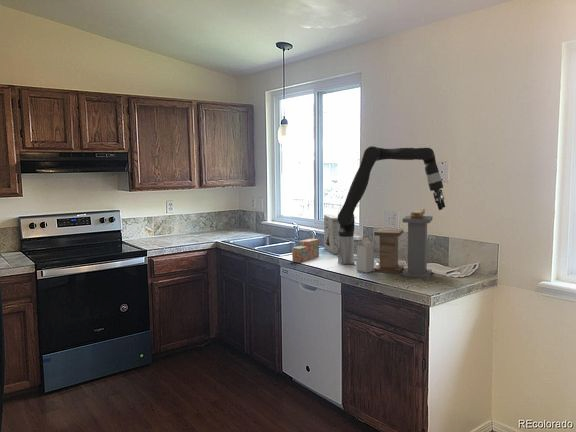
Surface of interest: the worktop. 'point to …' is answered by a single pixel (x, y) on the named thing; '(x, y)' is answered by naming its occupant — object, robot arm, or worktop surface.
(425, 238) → the charcoal pedestal
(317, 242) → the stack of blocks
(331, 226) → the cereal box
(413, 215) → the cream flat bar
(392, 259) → the walnut stand
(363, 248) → the milk carton
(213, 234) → the worktop surface
